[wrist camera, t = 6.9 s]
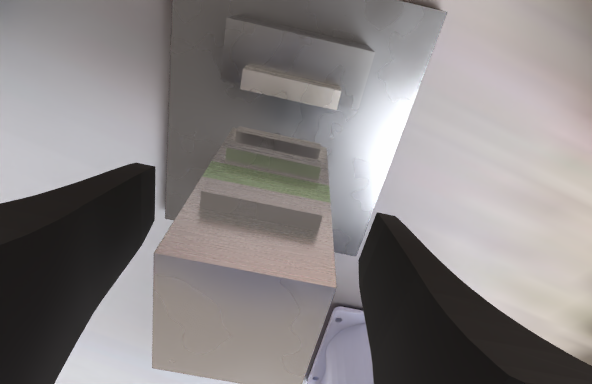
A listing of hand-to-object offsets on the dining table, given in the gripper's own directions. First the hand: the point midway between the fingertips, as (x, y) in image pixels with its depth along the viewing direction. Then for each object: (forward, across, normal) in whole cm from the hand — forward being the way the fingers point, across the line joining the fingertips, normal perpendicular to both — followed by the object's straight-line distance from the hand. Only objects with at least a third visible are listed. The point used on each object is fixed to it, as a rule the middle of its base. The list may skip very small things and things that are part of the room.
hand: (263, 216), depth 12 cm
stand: (+9, 0, 0) cm, 9 cm away
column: (+3, 0, 0) cm, 3 cm away
